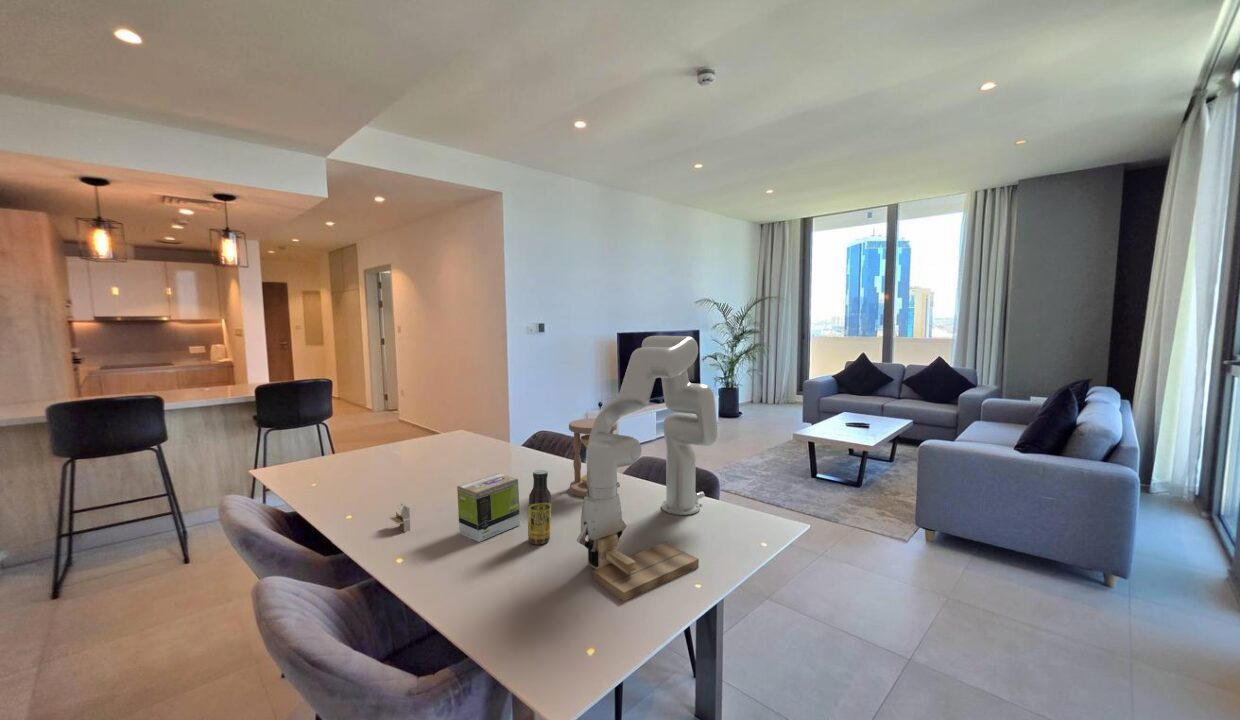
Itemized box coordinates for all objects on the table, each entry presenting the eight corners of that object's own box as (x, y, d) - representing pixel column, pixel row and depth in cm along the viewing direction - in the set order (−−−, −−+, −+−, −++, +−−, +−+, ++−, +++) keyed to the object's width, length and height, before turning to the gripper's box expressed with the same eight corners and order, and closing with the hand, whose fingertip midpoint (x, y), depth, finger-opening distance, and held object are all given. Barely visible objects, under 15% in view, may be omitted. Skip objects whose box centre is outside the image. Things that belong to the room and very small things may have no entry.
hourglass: (626, 486, 179) (626, 421, 178) (600, 501, 165) (599, 430, 163) (588, 479, 189) (587, 416, 187) (560, 492, 174) (558, 424, 172)
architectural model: (398, 535, 140) (397, 511, 139) (389, 529, 145) (388, 505, 144) (410, 532, 142) (409, 507, 142) (401, 525, 147) (400, 502, 147)
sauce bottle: (529, 547, 131) (527, 476, 130) (527, 537, 137) (525, 469, 136) (553, 544, 133) (551, 474, 131) (550, 534, 139) (548, 467, 137)
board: (665, 549, 129) (665, 541, 129) (698, 566, 120) (698, 558, 120) (592, 578, 115) (592, 570, 114) (623, 601, 105) (623, 592, 105)
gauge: (603, 558, 125) (603, 528, 124) (639, 580, 113) (639, 548, 113) (588, 564, 121) (587, 533, 121) (623, 588, 110) (623, 554, 110)
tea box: (500, 517, 152) (499, 472, 151) (520, 526, 145) (519, 478, 144) (458, 533, 140) (456, 484, 139) (478, 543, 134) (476, 491, 133)
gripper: (619, 480, 127) (620, 546, 129) (564, 494, 117) (566, 566, 118) (637, 487, 121) (638, 556, 123) (581, 503, 111) (582, 578, 112)
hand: (602, 560), depth 121 cm, fingers closed on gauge, 5 cm apart
